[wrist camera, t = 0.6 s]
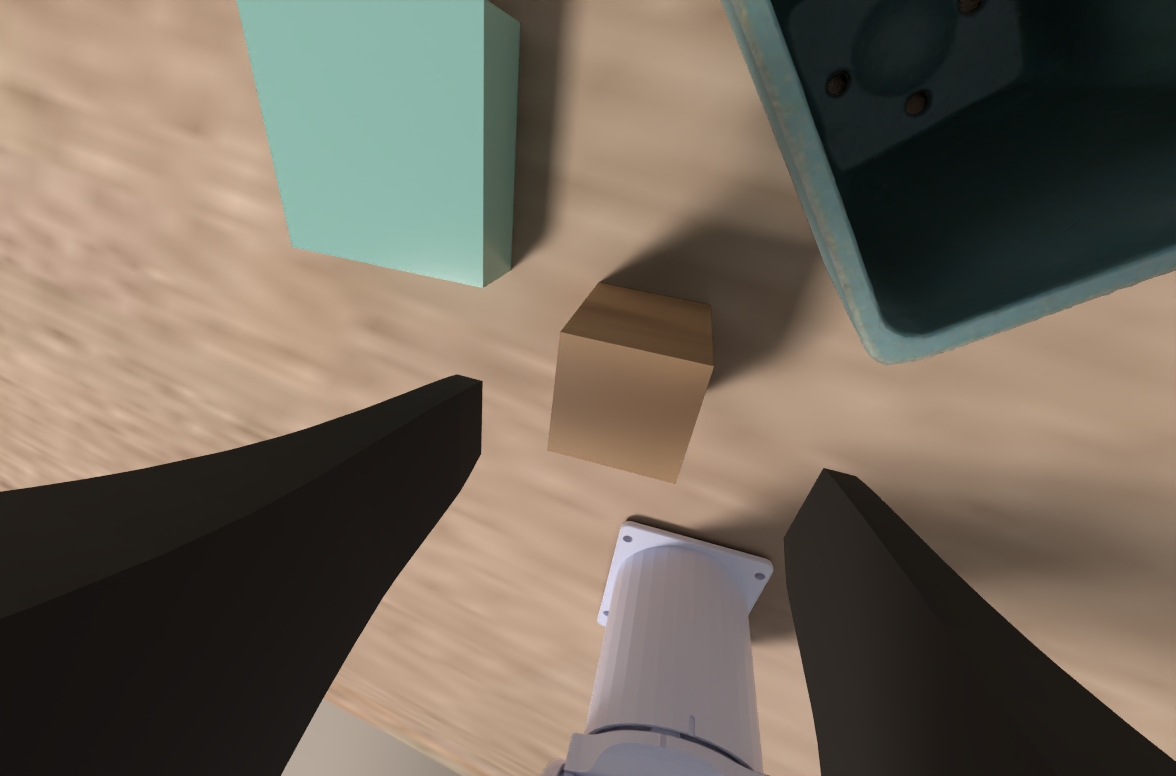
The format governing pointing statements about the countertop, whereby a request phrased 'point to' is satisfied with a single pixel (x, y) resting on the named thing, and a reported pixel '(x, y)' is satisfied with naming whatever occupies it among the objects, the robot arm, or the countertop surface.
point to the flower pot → (972, 154)
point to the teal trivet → (392, 129)
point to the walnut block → (631, 380)
